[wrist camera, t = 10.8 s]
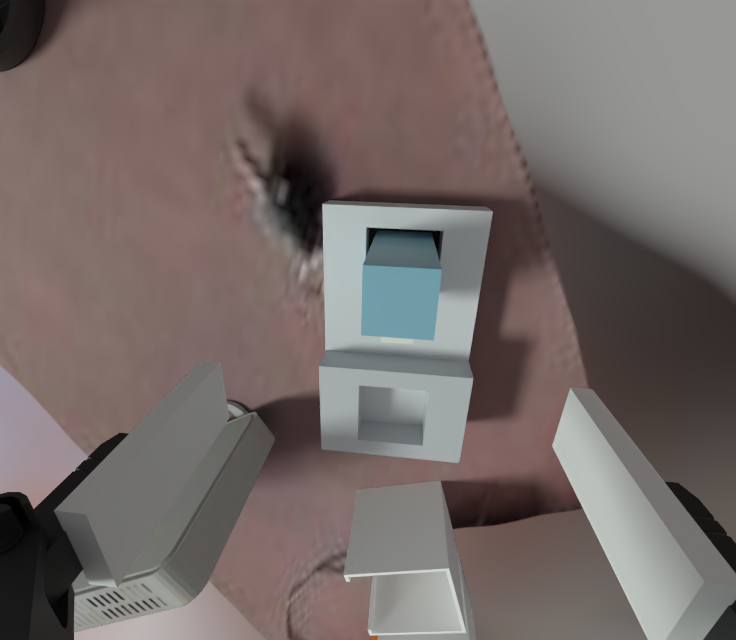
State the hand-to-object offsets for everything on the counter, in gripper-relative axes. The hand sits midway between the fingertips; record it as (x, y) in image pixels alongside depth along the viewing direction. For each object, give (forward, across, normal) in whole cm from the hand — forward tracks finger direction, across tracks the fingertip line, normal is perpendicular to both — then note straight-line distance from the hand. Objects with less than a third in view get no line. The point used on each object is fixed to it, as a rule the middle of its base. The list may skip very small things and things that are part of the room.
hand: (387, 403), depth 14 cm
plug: (+23, 0, 0) cm, 23 cm away
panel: (+23, 0, -8) cm, 24 cm away
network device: (+23, -25, -26) cm, 43 cm away
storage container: (+23, +5, -42) cm, 48 cm away
